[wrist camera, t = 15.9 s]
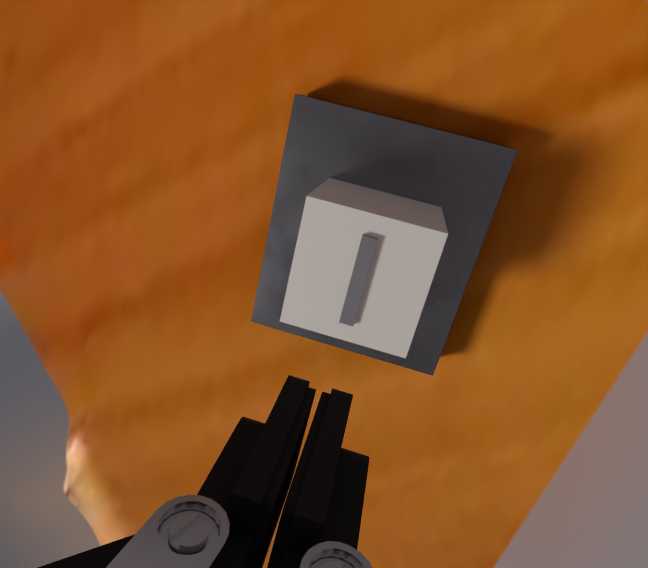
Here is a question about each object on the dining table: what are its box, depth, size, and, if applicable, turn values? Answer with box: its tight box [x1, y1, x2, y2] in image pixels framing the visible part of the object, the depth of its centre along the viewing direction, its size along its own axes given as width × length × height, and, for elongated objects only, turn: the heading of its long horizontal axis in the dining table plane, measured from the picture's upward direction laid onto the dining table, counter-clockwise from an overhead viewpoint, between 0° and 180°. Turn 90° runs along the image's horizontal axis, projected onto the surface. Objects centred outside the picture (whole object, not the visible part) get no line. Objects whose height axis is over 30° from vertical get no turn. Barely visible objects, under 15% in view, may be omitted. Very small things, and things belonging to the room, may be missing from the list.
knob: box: [280, 178, 448, 358], centre depth 25 cm, size 6×6×6 cm
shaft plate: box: [252, 94, 518, 375], centre depth 27 cm, size 14×12×6 cm
